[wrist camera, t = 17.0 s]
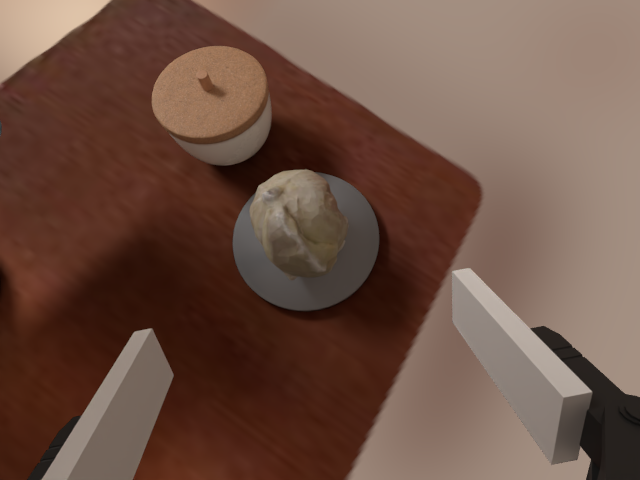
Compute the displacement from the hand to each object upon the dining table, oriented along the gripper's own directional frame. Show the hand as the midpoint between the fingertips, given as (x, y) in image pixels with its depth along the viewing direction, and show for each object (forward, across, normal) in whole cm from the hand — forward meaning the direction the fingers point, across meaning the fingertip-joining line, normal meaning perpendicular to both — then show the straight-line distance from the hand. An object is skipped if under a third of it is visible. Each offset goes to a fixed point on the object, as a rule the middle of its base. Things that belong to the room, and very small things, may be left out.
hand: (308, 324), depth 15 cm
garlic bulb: (+18, 0, -4) cm, 18 cm away
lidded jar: (+28, -6, +5) cm, 29 cm away
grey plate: (+19, 0, -4) cm, 19 cm away
